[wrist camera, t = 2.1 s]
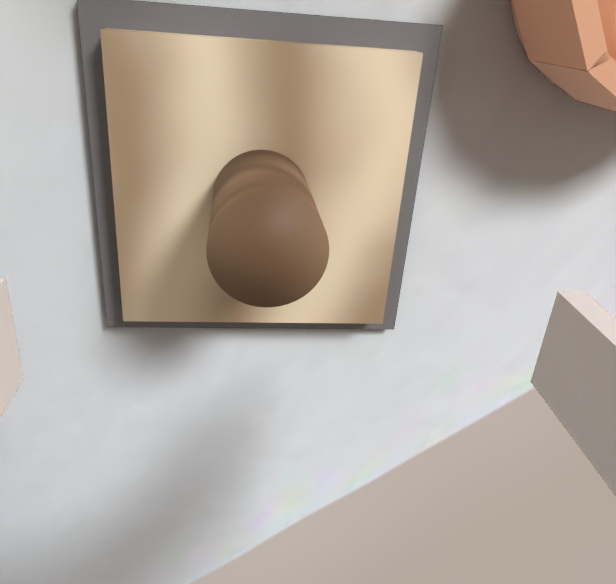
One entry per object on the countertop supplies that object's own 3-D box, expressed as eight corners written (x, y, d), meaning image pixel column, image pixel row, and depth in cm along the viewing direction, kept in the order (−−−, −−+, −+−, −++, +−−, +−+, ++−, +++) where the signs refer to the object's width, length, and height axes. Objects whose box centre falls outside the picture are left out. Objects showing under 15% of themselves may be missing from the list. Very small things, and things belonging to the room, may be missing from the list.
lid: (127, 308, 27) (93, 403, 21) (106, 28, 22) (52, 39, 15) (377, 311, 29) (417, 400, 22) (414, 51, 23) (482, 69, 17)
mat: (109, 320, 28) (107, 326, 27) (80, -4, 22) (76, -5, 21) (391, 323, 30) (394, 329, 29) (438, 25, 23) (442, 25, 23)
